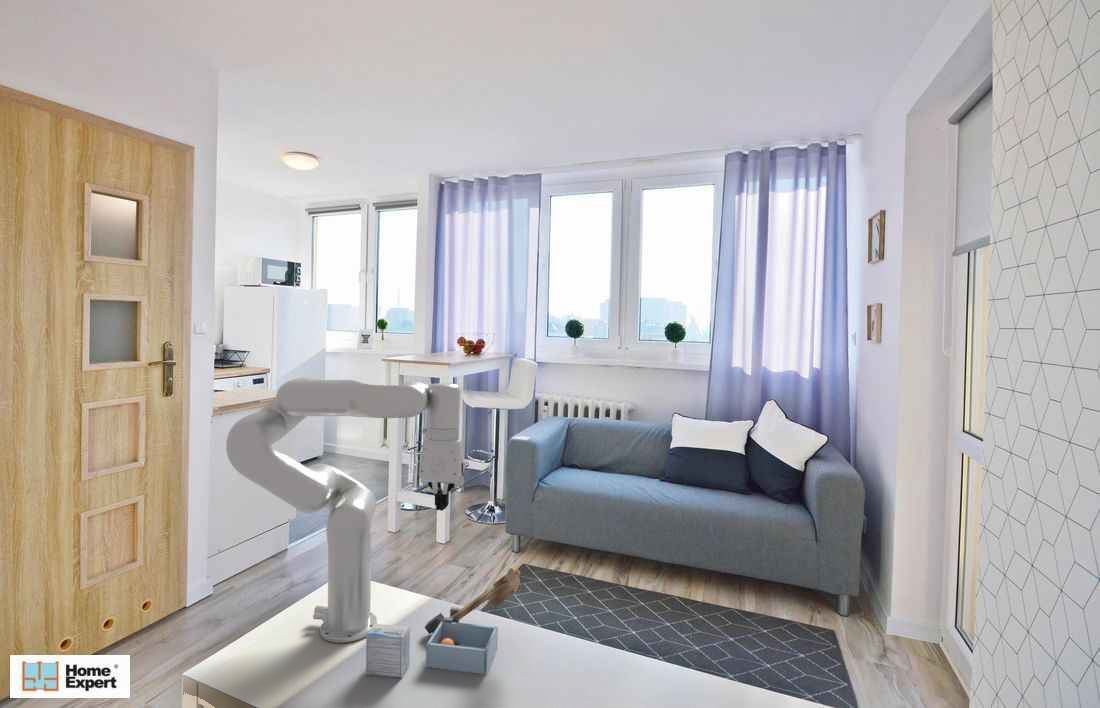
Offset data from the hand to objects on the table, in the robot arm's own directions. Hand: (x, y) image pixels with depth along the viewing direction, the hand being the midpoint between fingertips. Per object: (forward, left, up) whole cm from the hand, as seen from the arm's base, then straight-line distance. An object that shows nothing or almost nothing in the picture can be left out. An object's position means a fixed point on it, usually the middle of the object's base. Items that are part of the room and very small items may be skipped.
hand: (441, 508), depth 128 cm
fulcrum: (+5, -6, -28) cm, 29 cm away
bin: (+10, -13, -28) cm, 33 cm away
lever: (+12, -10, -20) cm, 25 cm away
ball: (+7, -13, -25) cm, 29 cm away
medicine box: (-4, -20, -28) cm, 35 cm away
